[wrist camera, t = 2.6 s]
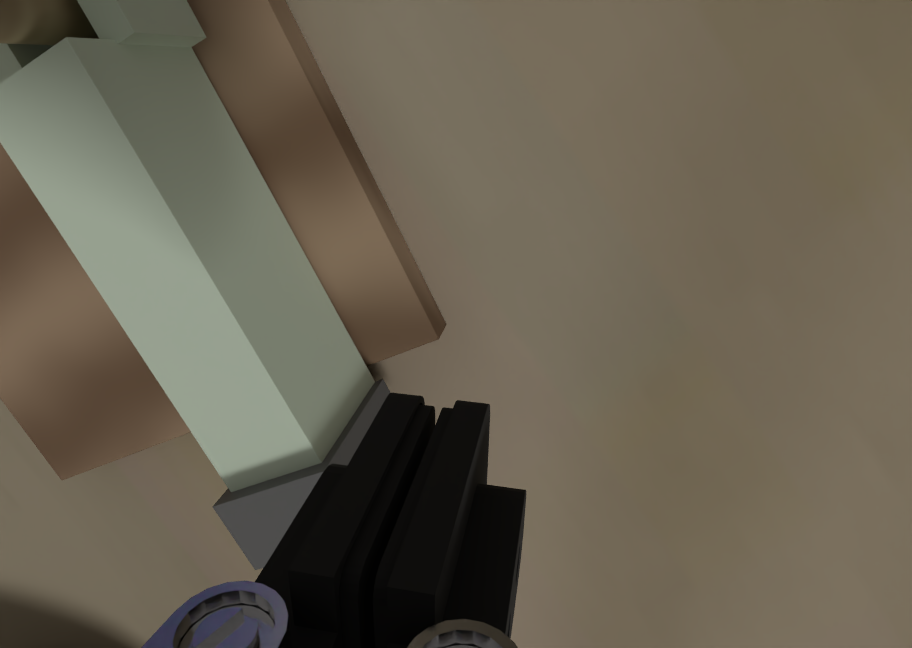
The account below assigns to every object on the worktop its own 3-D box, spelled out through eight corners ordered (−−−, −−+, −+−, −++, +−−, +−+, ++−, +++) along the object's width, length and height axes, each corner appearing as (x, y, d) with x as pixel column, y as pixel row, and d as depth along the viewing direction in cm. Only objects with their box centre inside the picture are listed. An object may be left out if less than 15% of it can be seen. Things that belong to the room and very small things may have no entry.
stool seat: (446, 324, 21) (374, 461, 13) (83, 463, 26) (-104, 612, 19) (180, -211, 16) (-132, -424, 9) (-189, 89, 22) (-564, 101, 15)
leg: (41, 9, 18) (-148, -10, 13) (149, -70, 16) (-19, -121, 12) (317, 466, 22) (248, 571, 17) (420, 432, 21) (373, 537, 16)
